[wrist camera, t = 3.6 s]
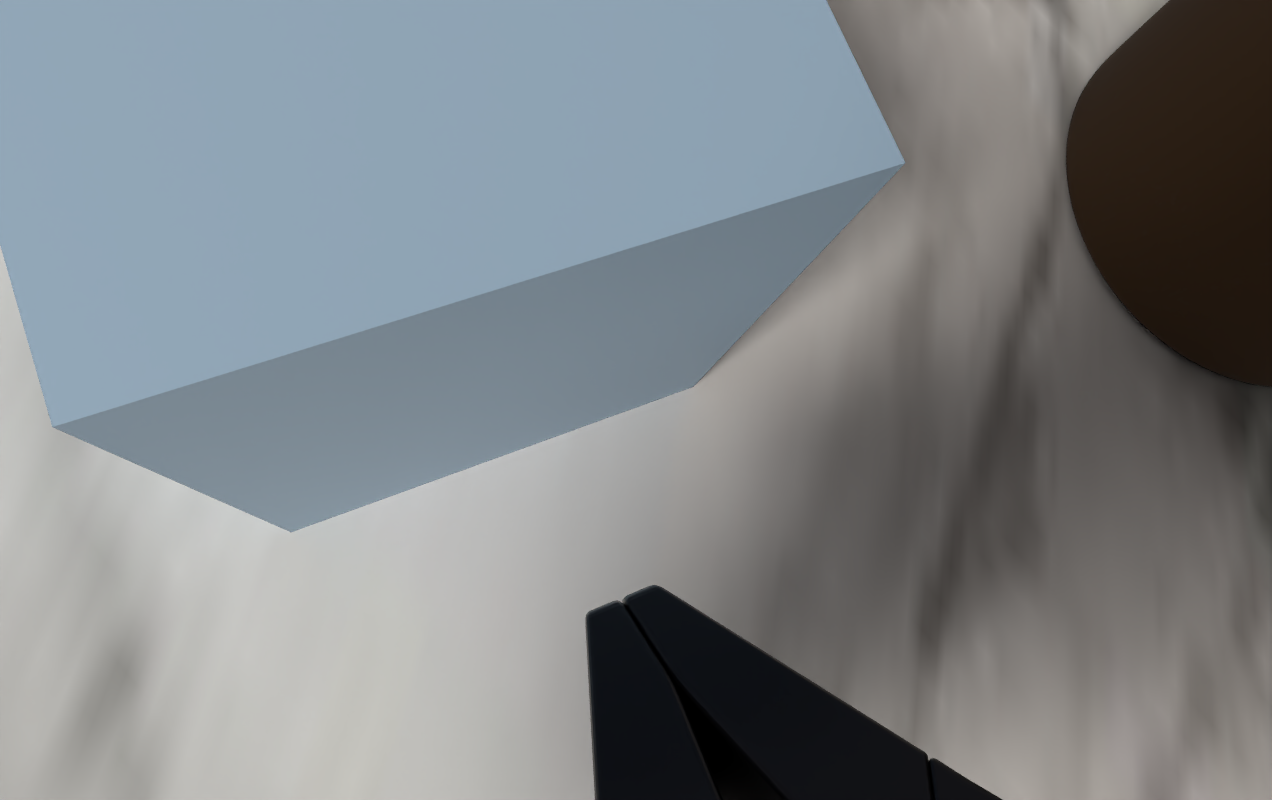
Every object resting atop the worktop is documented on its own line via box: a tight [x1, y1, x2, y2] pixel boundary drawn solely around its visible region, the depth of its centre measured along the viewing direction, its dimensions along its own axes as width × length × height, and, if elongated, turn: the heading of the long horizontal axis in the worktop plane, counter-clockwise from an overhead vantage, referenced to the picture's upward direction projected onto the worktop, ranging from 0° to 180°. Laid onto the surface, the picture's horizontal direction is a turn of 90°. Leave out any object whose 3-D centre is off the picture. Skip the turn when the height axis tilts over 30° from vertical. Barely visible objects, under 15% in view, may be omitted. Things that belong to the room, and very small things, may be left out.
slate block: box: [0, 0, 905, 532], centre depth 13 cm, size 9×8×9 cm
